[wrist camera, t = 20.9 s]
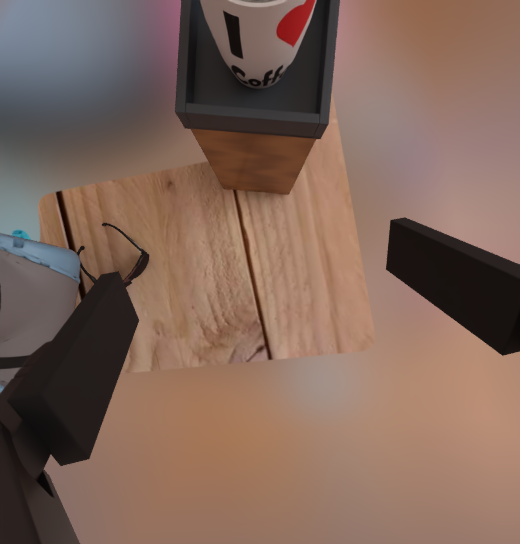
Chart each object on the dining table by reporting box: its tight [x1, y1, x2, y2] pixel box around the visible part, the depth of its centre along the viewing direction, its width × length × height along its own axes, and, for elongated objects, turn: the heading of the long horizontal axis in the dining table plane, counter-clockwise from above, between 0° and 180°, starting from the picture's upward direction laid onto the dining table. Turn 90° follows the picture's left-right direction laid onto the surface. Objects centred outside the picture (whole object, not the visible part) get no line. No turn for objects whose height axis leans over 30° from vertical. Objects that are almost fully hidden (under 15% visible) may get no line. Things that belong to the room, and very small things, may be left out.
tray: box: [175, 0, 340, 139], centre depth 24 cm, size 13×13×3 cm
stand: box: [191, 129, 316, 194], centre depth 38 cm, size 12×12×25 cm
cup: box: [200, 0, 317, 89], centre depth 19 cm, size 8×8×10 cm
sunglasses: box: [77, 223, 149, 287], centre depth 49 cm, size 10×12×5 cm
